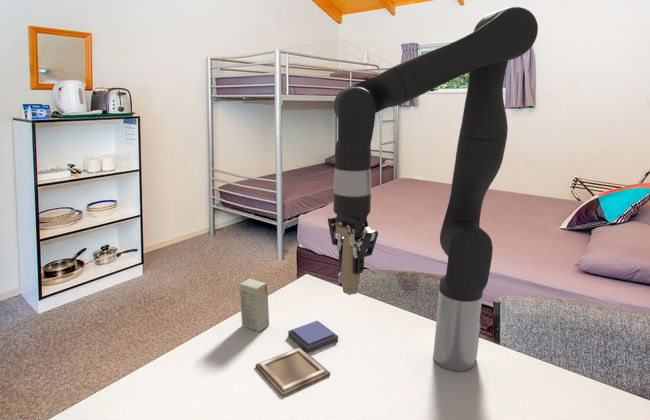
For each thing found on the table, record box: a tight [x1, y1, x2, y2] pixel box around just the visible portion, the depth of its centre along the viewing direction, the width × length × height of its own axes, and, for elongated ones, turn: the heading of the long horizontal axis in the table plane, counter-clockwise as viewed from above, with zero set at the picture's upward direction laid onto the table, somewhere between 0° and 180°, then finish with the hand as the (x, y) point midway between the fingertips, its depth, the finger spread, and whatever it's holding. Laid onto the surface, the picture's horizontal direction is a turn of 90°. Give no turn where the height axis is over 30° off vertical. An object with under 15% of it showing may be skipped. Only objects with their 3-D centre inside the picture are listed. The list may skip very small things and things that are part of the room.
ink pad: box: [287, 320, 339, 354], centre depth 107 cm, size 9×9×2 cm
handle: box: [336, 223, 363, 296], centre depth 90 cm, size 5×6×15 cm
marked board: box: [255, 346, 331, 397], centre depth 95 cm, size 12×12×1 cm
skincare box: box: [238, 278, 270, 333], centre depth 112 cm, size 6×4×12 cm
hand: (350, 269), depth 90 cm, fingers closed on handle, 4 cm apart
